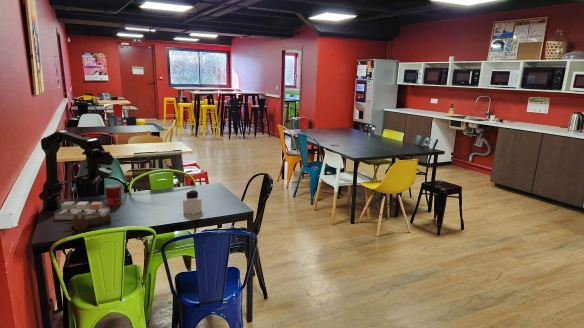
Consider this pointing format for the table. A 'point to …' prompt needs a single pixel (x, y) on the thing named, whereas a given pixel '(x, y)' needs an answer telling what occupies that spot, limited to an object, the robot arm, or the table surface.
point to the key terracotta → (96, 205)
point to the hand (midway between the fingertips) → (95, 193)
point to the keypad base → (87, 213)
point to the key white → (82, 205)
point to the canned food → (113, 194)
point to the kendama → (88, 220)
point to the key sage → (68, 205)
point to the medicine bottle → (192, 203)
